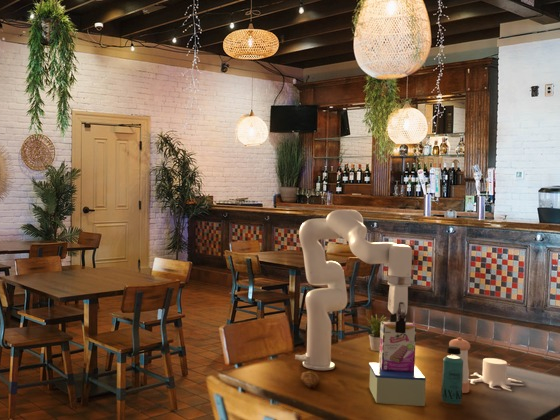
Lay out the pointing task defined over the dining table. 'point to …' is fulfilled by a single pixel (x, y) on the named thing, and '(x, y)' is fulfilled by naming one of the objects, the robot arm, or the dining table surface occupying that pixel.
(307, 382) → the croissant
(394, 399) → the container
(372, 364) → the container lid
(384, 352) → the candy bar box
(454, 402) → the beverage bottle
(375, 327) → the house plant
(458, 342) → the pepper shaker
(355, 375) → the dining table surface
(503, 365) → the tree stump
